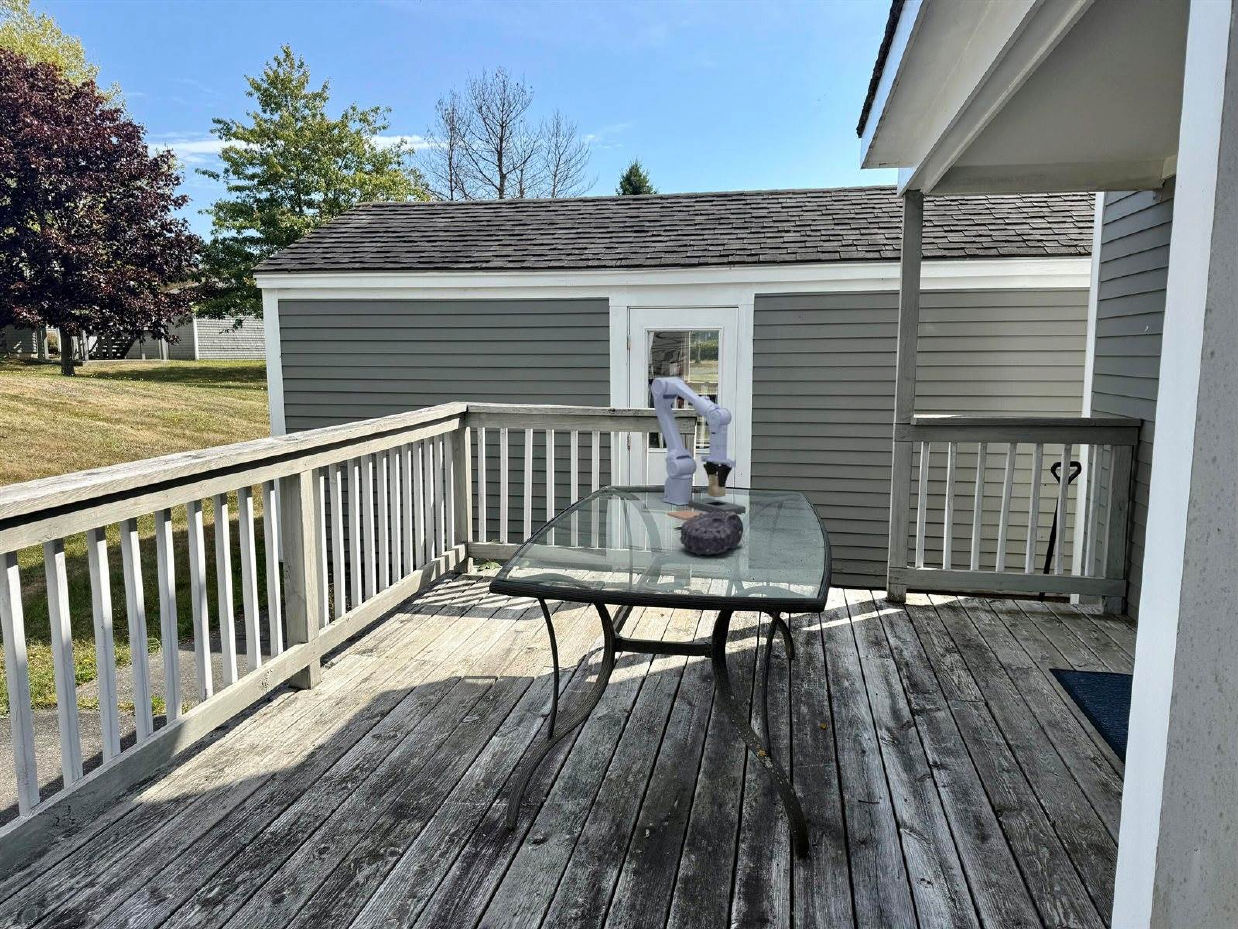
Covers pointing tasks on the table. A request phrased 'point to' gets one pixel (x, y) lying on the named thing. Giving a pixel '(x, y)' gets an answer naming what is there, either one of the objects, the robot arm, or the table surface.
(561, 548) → the table surface
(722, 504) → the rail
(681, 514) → the tile
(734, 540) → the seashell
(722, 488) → the peg
